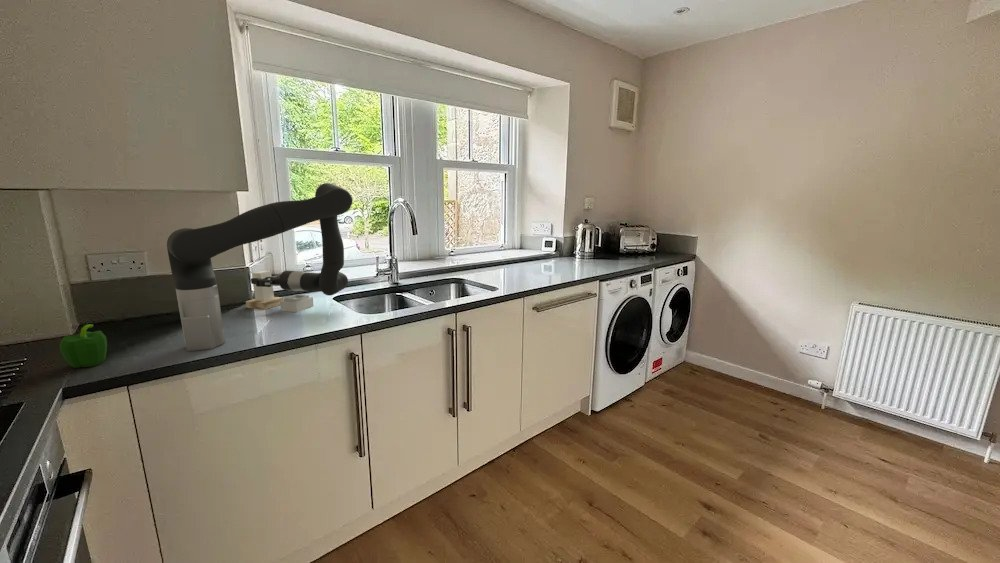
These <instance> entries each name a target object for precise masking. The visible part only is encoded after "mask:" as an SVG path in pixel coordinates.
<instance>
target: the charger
mask: <svg viewBox="0 0 1000 563" xmlns="http://www.w3.org/2000/svg"><path fill="white" fill-rule="evenodd" d="M271 274H272V270H260V271H254V272H251V278H266V277H269V276H272V275H271ZM268 280H270V278H268ZM252 286H253V291H254V293H253V294H254V299H255V301H267V300H270V299H274V297H275V294H274V287H273V286H271V287H257V286H256V284H252Z"/></svg>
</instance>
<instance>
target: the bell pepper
mask: <svg viewBox="0 0 1000 563" xmlns="http://www.w3.org/2000/svg"><path fill="white" fill-rule="evenodd" d="M93 327H94V324H89V323H88V324H87V323H86V324H85V325H84V326H82V328H80V333H78V334H77V335H65V336H63V338H62V339H61V341H60V343H59V345H58V346H59V351H60V354H61V355H62V357H63V359H64V360H65V362H67V363H68V365H70V366H71V367H72V368H74V369H78V368H85V367H86V368H88V367H94V366H97V365H100V364H103V363H104V361H105V359H106V358H107V351H108V339H107V336H106V334H104V333H103V331H102V330H94V331H87V330H88V329H92V328H93Z"/></svg>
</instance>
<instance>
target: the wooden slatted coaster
mask: <svg viewBox="0 0 1000 563" xmlns="http://www.w3.org/2000/svg"><path fill="white" fill-rule="evenodd" d="M281 301H284V297H282V296H281V297H279V296H274V299H270V300H267V301H255V298H252V299H250V300H246V301H245V305H246V306H245V307H246V309H247V308H248V309H257V310H268V308H269V309H271V307H272V308H274V307H277V306H280V302H281Z"/></svg>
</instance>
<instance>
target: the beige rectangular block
mask: <svg viewBox="0 0 1000 563" xmlns="http://www.w3.org/2000/svg"><path fill="white" fill-rule="evenodd" d="M283 299H284V301H281V302H280V305H279V306H280V311H281V312H293V313H298V312H301V311H303V310H305V309H309V308H311V307H314V306H315V304H314V297H313V296H310V295H307V294H293V295H291V296H288V297H283Z"/></svg>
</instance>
